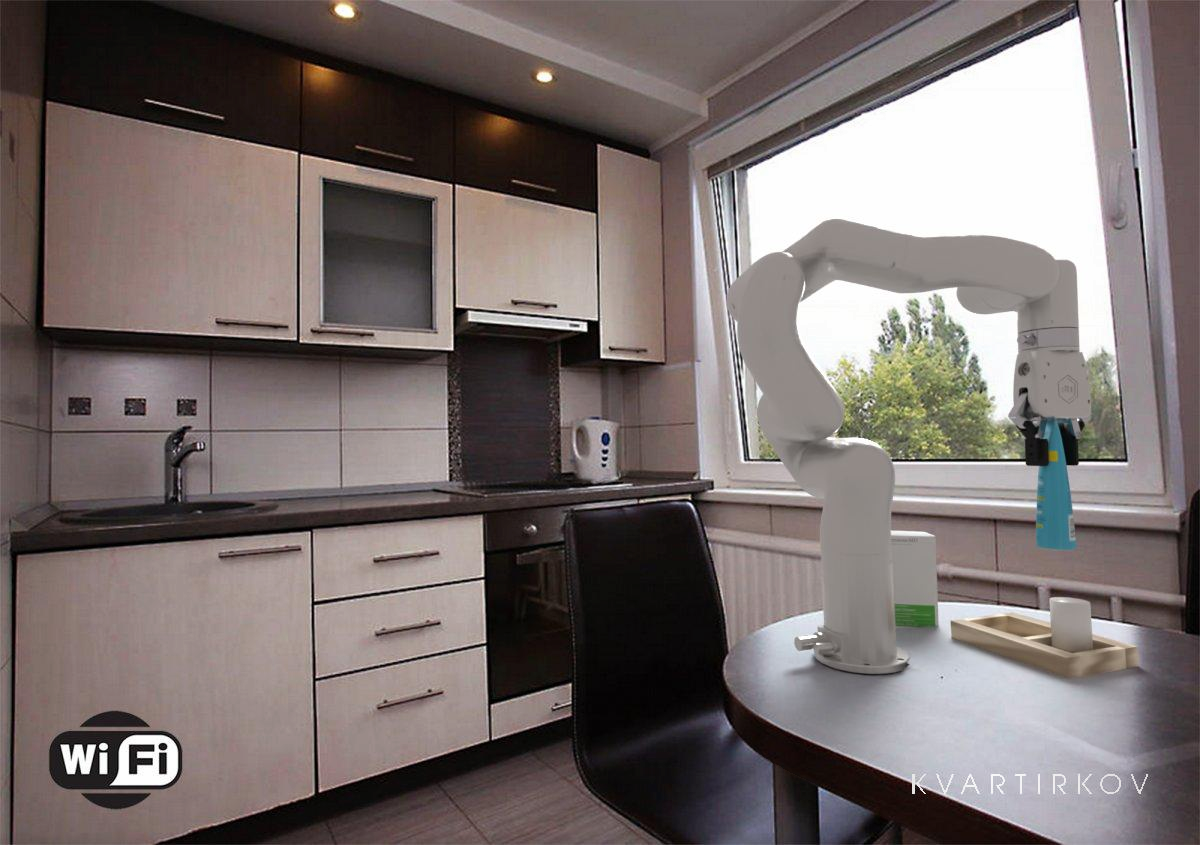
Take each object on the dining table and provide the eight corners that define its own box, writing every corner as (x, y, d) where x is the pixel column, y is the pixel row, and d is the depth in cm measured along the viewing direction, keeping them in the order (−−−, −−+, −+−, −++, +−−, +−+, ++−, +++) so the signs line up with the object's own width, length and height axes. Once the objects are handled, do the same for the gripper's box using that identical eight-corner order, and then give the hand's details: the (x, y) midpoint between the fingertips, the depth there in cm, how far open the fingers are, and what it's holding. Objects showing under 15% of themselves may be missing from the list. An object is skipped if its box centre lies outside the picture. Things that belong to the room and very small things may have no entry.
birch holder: (1068, 686, 78) (1066, 657, 78) (951, 643, 96) (950, 620, 96) (1139, 674, 82) (1137, 646, 82) (1013, 635, 99) (1012, 612, 99)
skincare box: (885, 630, 103) (881, 535, 104) (877, 619, 110) (873, 529, 110) (941, 632, 101) (936, 535, 102) (930, 621, 108) (925, 529, 108)
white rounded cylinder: (1076, 669, 81) (1073, 606, 81) (1044, 658, 85) (1041, 598, 86) (1102, 665, 82) (1098, 603, 83) (1069, 654, 87) (1066, 595, 87)
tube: (1029, 544, 98) (1025, 420, 99) (1066, 545, 96) (1062, 419, 97) (1045, 551, 91) (1040, 418, 92) (1085, 553, 89) (1080, 417, 90)
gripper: (1026, 337, 89) (1031, 467, 88) (1116, 342, 93) (1121, 465, 93) (981, 346, 96) (984, 465, 95) (1066, 350, 101) (1070, 464, 100)
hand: (1052, 464), depth 94 cm, fingers closed on tube, 5 cm apart
